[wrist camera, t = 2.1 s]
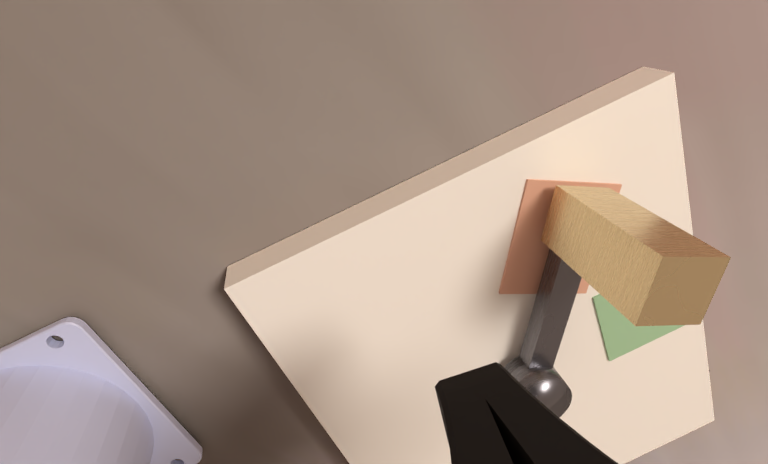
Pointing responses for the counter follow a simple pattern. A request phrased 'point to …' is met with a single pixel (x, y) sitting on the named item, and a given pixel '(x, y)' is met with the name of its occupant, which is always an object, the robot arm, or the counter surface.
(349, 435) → the board
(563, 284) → the wooden handled crank
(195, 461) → the robot arm
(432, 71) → the counter surface
